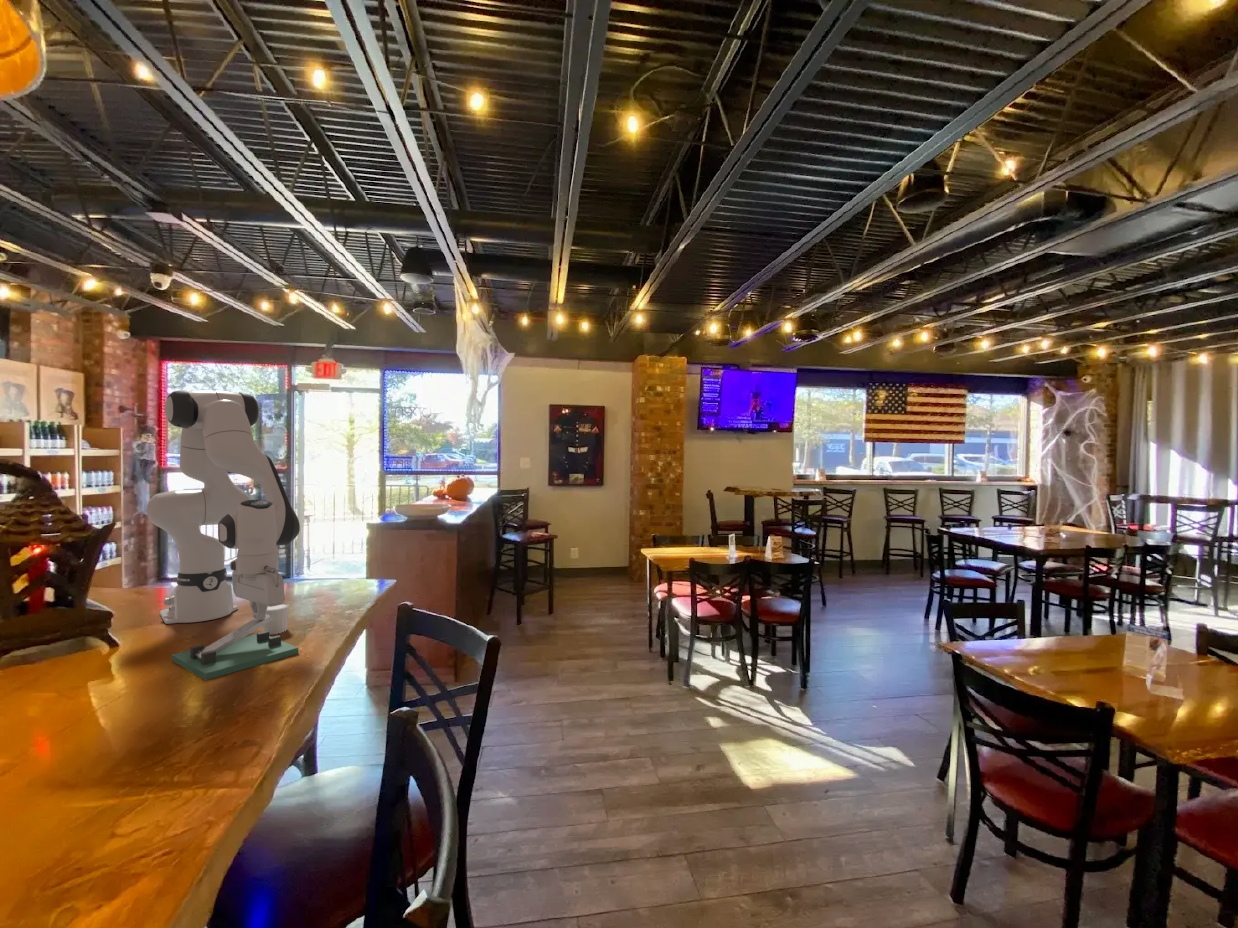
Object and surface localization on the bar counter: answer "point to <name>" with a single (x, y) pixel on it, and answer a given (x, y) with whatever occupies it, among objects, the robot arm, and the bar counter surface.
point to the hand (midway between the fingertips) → (259, 618)
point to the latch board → (235, 655)
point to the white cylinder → (277, 619)
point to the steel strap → (235, 636)
